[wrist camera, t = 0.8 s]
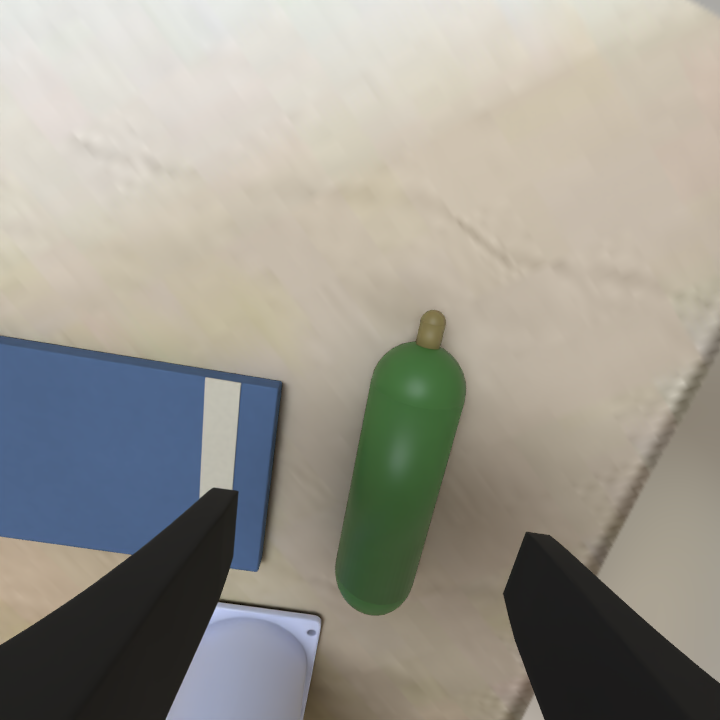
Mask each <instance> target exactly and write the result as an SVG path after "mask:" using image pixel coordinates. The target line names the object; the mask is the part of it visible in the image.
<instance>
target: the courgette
mask: <svg viewBox="0 0 720 720" xmlns="http://www.w3.org/2000/svg"><path fill="white" fill-rule="evenodd" d="M445 325H446V320H445V317H444V315H443V314H442V313H441V312H439V311H437V310H430V311H428V312H426V313H425V314H424V315H423V316H422V318H421V321H420V326H419V330H418V335H417V339H416V341H415V342H408V343H404V344H401V345H399V346H397V347H395V348H393V349H391V350H390V351H389V352H387V353H386V354H385V355H384V356H383V357H382V359H381V360H380V361H379V362H378V364H377V366H376V368H375V369H374V373H373V376H372V379H371V384H370V389H369V394H368V399H367V404H366V409H365V415H364V420H363V425H362V430H361V435H360V440H359V445H358V450H357V456H356V461H355V466H354V471H353V476H352V481H351V486H350V491H349V497H348V502H347V507H346V512H345V517H344V522H343V527H342V532H341V538H340V543H339V548H338V553H337V558H336V566H335V574H336V580H337V584H338V588H339V590H340V592H341V594H342V596H343V597H344V599H345V600H346V601H347V603H348V604H350V605H351V606H352V607H353V608H354V609H356V610H358V611H359V612H362V613H364V614H368V615H377V616H378V615H385V614H387V613H390V612H392V611H394V610H395V609H397V608H398V607H399V606H400V605H401V604H402V603H403V602H404V601H405V599H406V598H407V597H408V595H409V593H410V590H411V588H412V585H413V582H414V578H415V575H416V571H417V568H418V564H419V561H420V557H421V554H422V550H423V546H424V543H425V539H426V536H427V532H428V529H429V525H430V522H431V518H432V515H433V511H434V508H435V504H436V501H437V497H438V493H439V490H440V486H441V483H442V479H443V476H444V472H445V469H446V465H447V462H448V458H449V455H450V451H451V447H452V444H453V440H454V437H455V433H456V430H457V426H458V423H459V419H460V416H461V412H462V409H463V405H464V401H465V395H466V382H465V378H464V374H463V372H462V370H461V368H460V366H459V364H458V362H457V361H456V360H455V359H454V357H453V356H452V355H451V354H450V353H448V352H447V351H446V350H445V349H443V348H441V347H440V345H441V341H442V337H443V333H444V329H445Z"/></svg>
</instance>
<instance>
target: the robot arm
mask: <svg viewBox="0 0 720 720" xmlns="http://www.w3.org/2000/svg"><path fill="white" fill-rule="evenodd" d="M238 493H239V491H236V490H229V489H222V488H215V487H213V488H212V489H210V490H209V491H208V492H207V493H205V494H204V495H203V496H202V497H201V498H200V499H199V500H197V501H196V502H195V503H194V504H193V505H192V506H191V507H190V508H188V509H187V510H186V511H185V512H184V513H183V514H181V515H180V516H179V517H178V518H177V519H176V520H174V521H173V522H172V523H171V524H170V525H169V526H167V527H166V528H165V529H164V530H163V531H161V532H160V533H159V534H158V535H156V536H155V537H154V538H153V539H151V540H150V541H149V542H148V543H147V544H145V545H144V546H143V547H142V548H140V549H139V550H138V551H137V552H135V553H134V554H133V555H132V556H130V557H129V558H128V559H126V560H125V561H124V562H122V563H121V564H120V565H118V566H117V567H116V568H114V569H113V570H112V571H110V572H109V573H108V574H106V575H105V576H103V577H102V578H101V579H99V580H98V581H97V582H95V583H94V584H93V585H91V586H90V587H88V588H87V589H86V590H84V591H83V592H81V593H80V594H78V595H77V596H76V597H74V598H73V599H71V600H70V601H68V602H67V603H65V604H64V605H62V606H61V607H60V608H58V609H56V610H55V611H53V612H52V613H50V614H49V615H47V616H46V617H44V618H43V619H41V620H40V621H38V622H37V623H35V624H34V625H32V626H30V627H29V628H27V629H26V630H24V631H22V632H21V633H19V634H18V635H16V636H14V637H13V638H11V639H9V640H8V641H6V642H5V643H3V644H1V645H0V720H303V717H304V712H305V707H306V702H307V697H308V691H309V686H310V681H311V676H312V671H313V665H314V660H315V655H316V650H317V645H318V640H319V634H320V629H321V619H320V617H318V616H316V615H311V614H304V613H296V612H289V611H281V610H274V609H267V608H259V607H252V606H244V605H237V604H229V603H222V602H218V601H219V599H220V596H221V593H222V590H223V587H224V584H225V581H226V578H227V575H228V572H229V569H230V566H231V563H232V560H233V555H234V542H235V530H236V518H237V505H238ZM503 595H504V599H505V603H506V607H507V612H508V616H509V620H510V624H511V627H512V631H513V635H514V639H515V642H516V644H517V647H518V650H519V653H520V655H521V658H522V661H523V664H524V666H525V669H526V672H527V674H528V677H529V680H530V682H531V685H532V688H533V690H534V693H535V696H536V698H537V701H538V703H539V706H540V709H541V711H542V714H543V717H544V719H545V720H720V683H719V682H717V681H716V680H715V679H713V678H712V677H711V676H710V675H709V674H707V673H706V672H705V671H704V670H702V669H701V668H699V666H698V665H696V664H695V663H694V662H693V661H692V660H690V659H689V658H688V657H687V656H686V655H685V654H683V653H682V652H681V651H680V650H679V649H677V648H676V647H675V646H674V645H673V644H671V643H670V642H669V641H668V640H666V638H664V637H663V636H662V635H661V634H660V633H658V632H657V631H656V630H655V629H654V628H653V627H652V626H651V625H649V624H648V623H647V622H646V621H645V620H644V619H643V618H642V617H640V616H639V615H638V614H637V613H636V612H635V611H634V610H633V609H631V608H630V607H629V606H628V605H627V604H626V603H625V602H624V601H623V600H621V599H620V598H619V597H618V596H617V595H616V594H615V593H614V592H613V591H612V590H611V589H609V588H608V587H607V586H606V585H605V584H604V583H603V582H601V580H599V579H598V578H597V577H596V576H595V575H594V574H593V573H592V572H591V571H590V570H589V569H588V568H587V567H585V566H584V565H583V564H582V563H581V562H580V561H579V560H578V559H577V558H576V557H574V556H573V555H572V554H571V553H570V552H569V551H568V550H567V549H565V548H564V547H563V546H562V545H561V544H560V543H559V542H557V541H556V540H555V539H554V538H552V537H551V536H550V535H545V534H538V533H531V532H526V533H525V536H524V539H523V541H522V544H521V547H520V550H519V552H518V555H517V558H516V560H515V563H514V566H513V568H512V571H511V574H510V576H509V579H508V582H507V584H506V587H505V590H504V592H503Z"/></svg>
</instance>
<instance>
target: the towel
mask: <svg viewBox="0 0 720 720" xmlns="http://www.w3.org/2000/svg"><path fill="white" fill-rule="evenodd" d="M281 390H282V382H281V381H276V380H270V379H264V378H257V377H251V376H245V375H239V374H233V373H227V372H220V371H214V370H208V369H202V368H196V367H189V366H183V365H177V364H171V363H165V362H159V361H152V360H146V359H140V358H134V357H128V356H122V355H115V354H109V353H103V352H97V351H91V350H85V349H78V348H72V347H66V346H60V345H54V344H48V343H41V342H35V341H29V340H23V339H17V338H11V337H4V336H0V536H1V537H8V538H15V539H22V540H30V541H37V542H44V543H51V544H59V545H66V546H73V547H80V548H87V549H95V550H102V551H109V552H116V553H124V554H131V555H133V554H134V553H135V552H137V551H138V550H139V549H140V548H142V547H143V546H144V545H145V544H147V543H148V542H149V541H150V540H151V539H153V538H154V537H155V536H156V535H158V534H159V533H160V532H161V531H163V530H164V529H165V528H166V527H167V526H169V525H170V524H171V523H172V522H173V521H174V520H176V519H177V518H178V517H179V516H180V515H181V514H183V513H184V512H185V511H186V510H187V509H188V508H190V507H191V506H192V505H193V504H194V503H195V502H196V501H197V500H199V499H200V498H201V497H202V496H203V495H204V494H205V493H207V492H208V491H209V490H210V489H212V488H213V487H215V488H222V489H229V490H236V491H239V493H238V505H237V518H236V530H235V542H234V555H233V560H232V563H231V566H230V568H232V569H239V570H247V571H254V572H257V571H258V569H259V566H260V563H261V559H262V553H263V544H264V536H265V527H266V519H267V510H268V501H269V493H270V484H271V476H272V467H273V459H274V450H275V441H276V433H277V424H278V416H279V407H280V399H281Z"/></svg>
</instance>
